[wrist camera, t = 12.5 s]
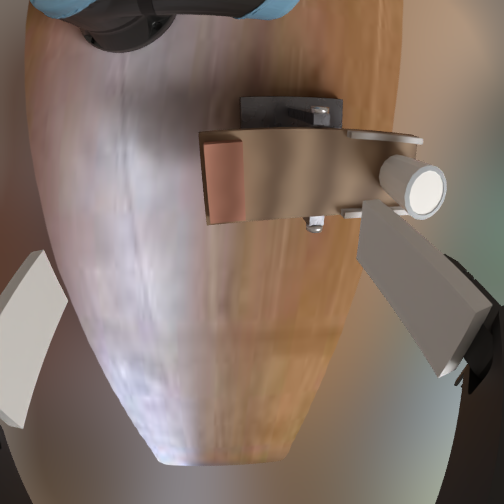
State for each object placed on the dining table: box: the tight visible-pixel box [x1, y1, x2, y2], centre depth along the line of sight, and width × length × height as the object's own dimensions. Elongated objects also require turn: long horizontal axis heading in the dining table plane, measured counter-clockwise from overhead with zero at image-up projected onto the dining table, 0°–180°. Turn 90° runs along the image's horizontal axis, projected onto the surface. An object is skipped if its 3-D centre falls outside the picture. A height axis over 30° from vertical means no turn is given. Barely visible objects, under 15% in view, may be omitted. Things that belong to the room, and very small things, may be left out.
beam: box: [199, 127, 423, 225], centre depth 34 cm, size 28×11×4 cm, turn 91°
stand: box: [240, 96, 343, 233], centre depth 39 cm, size 16×18×13 cm
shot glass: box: [379, 155, 447, 220], centre depth 32 cm, size 7×7×7 cm
